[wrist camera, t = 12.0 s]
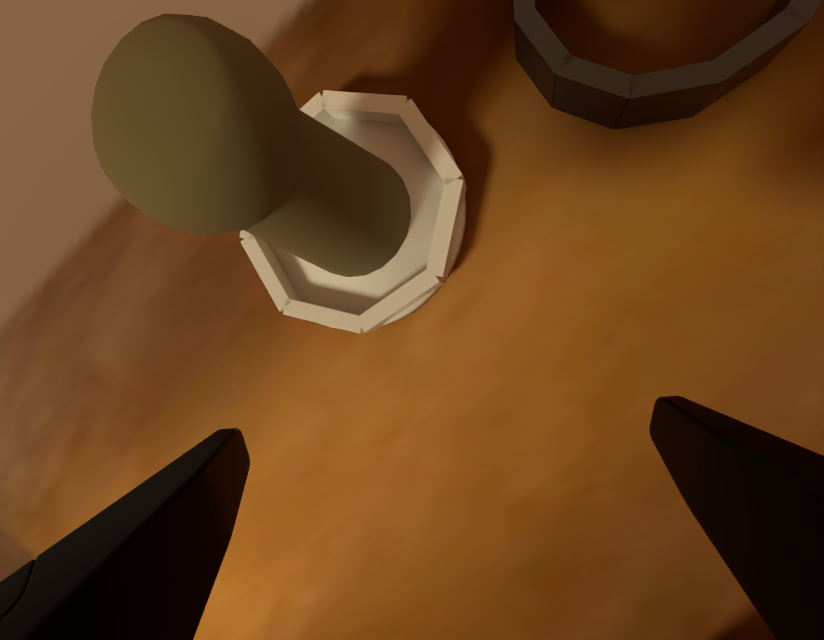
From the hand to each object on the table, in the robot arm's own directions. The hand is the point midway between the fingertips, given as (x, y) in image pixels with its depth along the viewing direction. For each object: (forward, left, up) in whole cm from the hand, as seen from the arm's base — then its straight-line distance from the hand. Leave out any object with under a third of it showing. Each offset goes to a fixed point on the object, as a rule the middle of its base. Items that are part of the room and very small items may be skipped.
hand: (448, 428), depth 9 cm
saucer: (+10, +2, -10) cm, 14 cm away
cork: (+10, +2, -10) cm, 14 cm away
